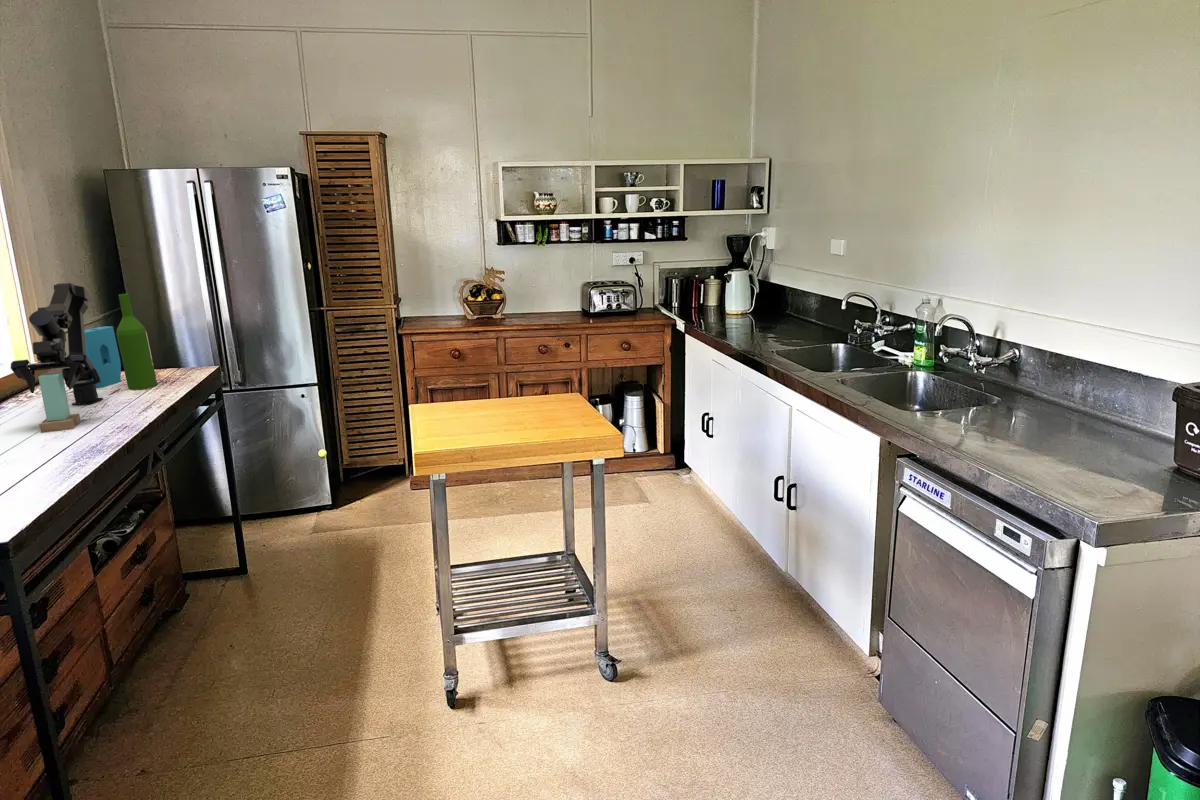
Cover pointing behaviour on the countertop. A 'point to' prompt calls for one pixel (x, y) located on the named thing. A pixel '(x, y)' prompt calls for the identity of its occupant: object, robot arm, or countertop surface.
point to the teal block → (54, 396)
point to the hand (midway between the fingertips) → (50, 390)
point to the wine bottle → (134, 349)
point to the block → (103, 355)
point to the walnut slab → (60, 424)
